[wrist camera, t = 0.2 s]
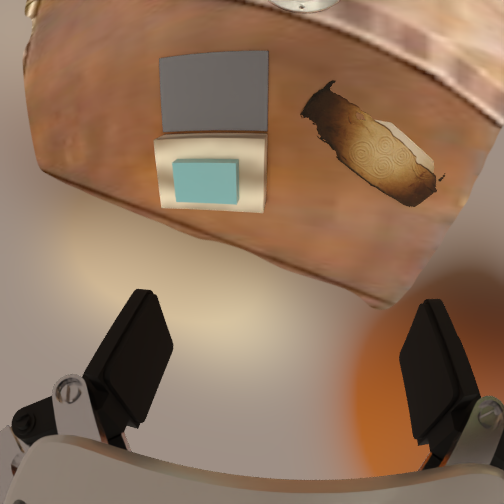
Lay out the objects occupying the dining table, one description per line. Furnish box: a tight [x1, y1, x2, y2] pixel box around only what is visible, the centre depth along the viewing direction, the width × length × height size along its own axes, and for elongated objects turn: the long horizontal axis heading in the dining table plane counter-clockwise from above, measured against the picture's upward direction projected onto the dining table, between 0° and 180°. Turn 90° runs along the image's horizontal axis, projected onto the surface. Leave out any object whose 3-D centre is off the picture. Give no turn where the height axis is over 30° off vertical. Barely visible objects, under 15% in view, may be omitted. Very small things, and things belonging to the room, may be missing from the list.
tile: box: [172, 159, 239, 205], centre depth 41 cm, size 6×9×2 cm, turn 90°
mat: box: [159, 51, 268, 132], centre depth 38 cm, size 12×16×1 cm
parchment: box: [300, 81, 445, 207], centre depth 39 cm, size 25×10×1 cm, turn 59°
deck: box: [154, 133, 267, 213], centre depth 43 cm, size 11×16×4 cm
